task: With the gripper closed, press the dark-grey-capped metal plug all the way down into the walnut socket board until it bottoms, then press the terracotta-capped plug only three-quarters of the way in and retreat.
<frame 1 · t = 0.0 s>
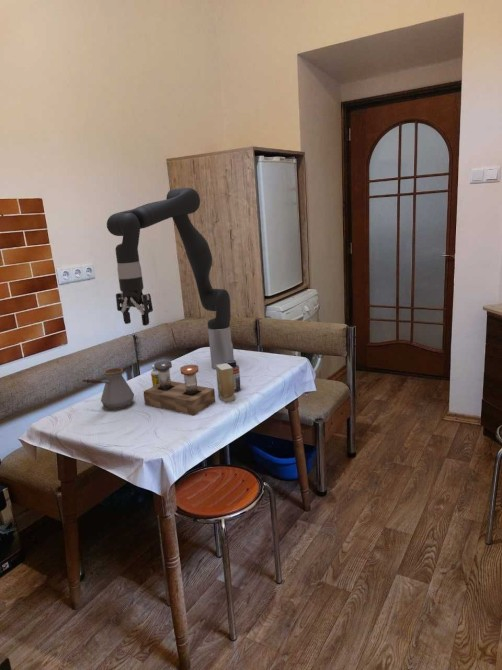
hand: (136, 324, 159), 29 cm above the table, fingers open, 8 cm apart
skincare box: (226, 399, 167), on the table
socket board: (180, 403, 166), on the table
supplement bottle: (160, 389, 182), on the table
coffee pot: (109, 411, 165), on the table
supplement bottle 2: (232, 390, 175), on the table
plug grey: (164, 376, 167), point 9 cm above the table, slide at 0.0 cm
plug rust: (190, 380, 161), point 9 cm above the table, slide at 0.0 cm
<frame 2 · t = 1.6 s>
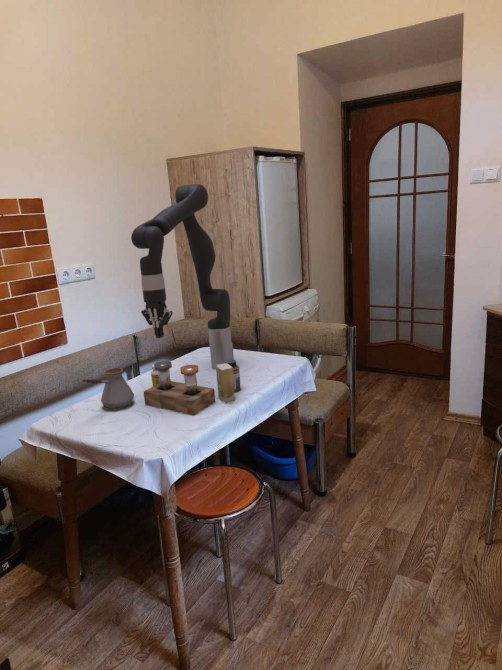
hand: (159, 337, 164), 23 cm above the table, fingers closed
nothing on the table moved.
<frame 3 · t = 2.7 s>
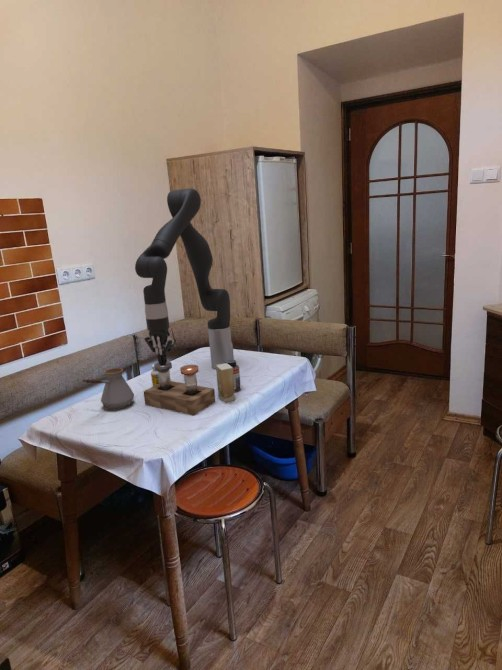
hand: (162, 364, 166), 14 cm above the table, fingers closed
plug grey: (164, 376, 167), point 9 cm above the table, slide at 0.2 cm, touching gripper
everything else where it was.
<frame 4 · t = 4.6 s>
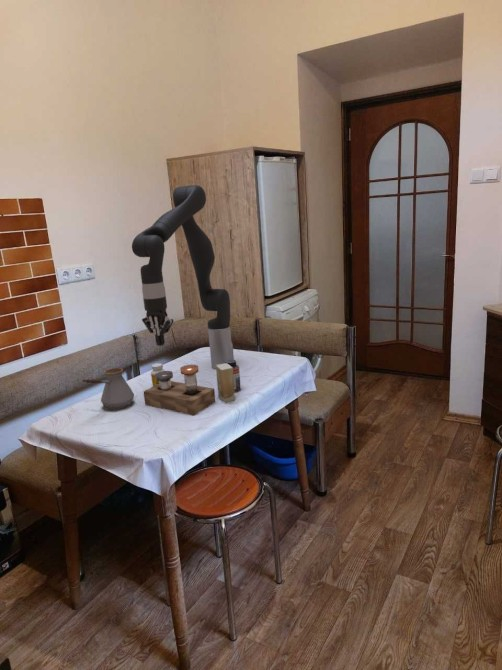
hand: (160, 345, 164), 21 cm above the table, fingers closed
plug grey: (165, 386, 168), point 5 cm above the table, slide at 3.8 cm
everything else where it was.
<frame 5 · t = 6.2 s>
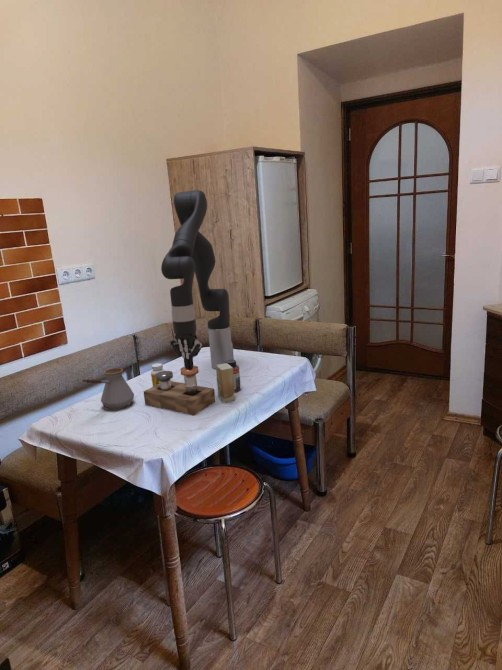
hand: (189, 368, 160), 14 cm above the table, fingers closed
plug rust: (190, 381, 161), point 9 cm above the table, slide at 0.4 cm, touching gripper
everything else where it was.
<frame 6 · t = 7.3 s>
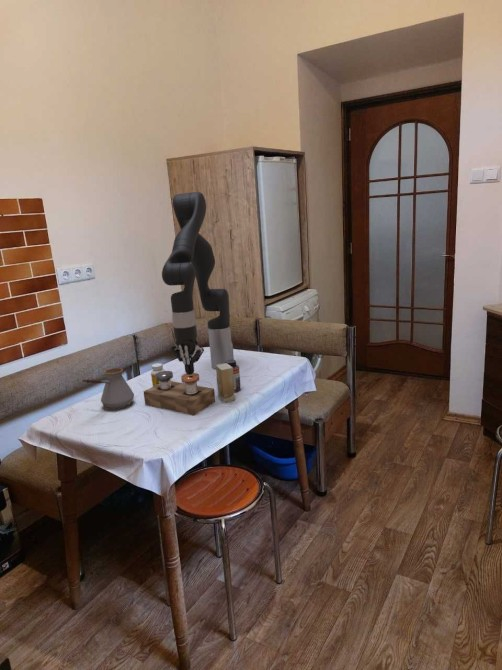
hand: (190, 373, 160), 12 cm above the table, fingers closed
plug rust: (191, 389, 161), point 6 cm above the table, slide at 3.0 cm
everything else where it was.
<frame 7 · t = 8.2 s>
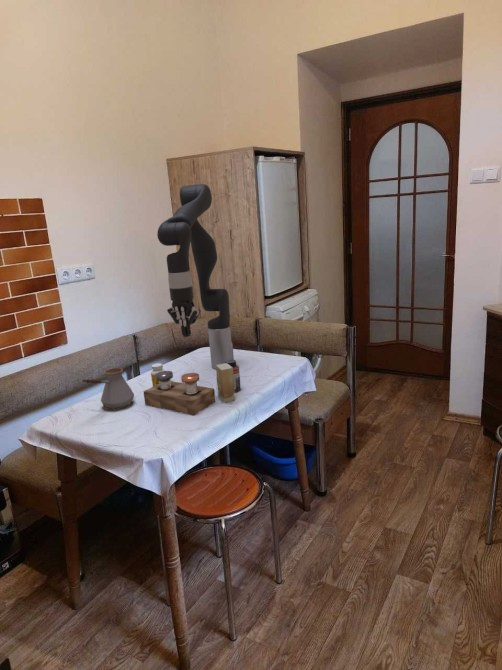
hand: (186, 336, 160), 24 cm above the table, fingers closed
nothing on the table moved.
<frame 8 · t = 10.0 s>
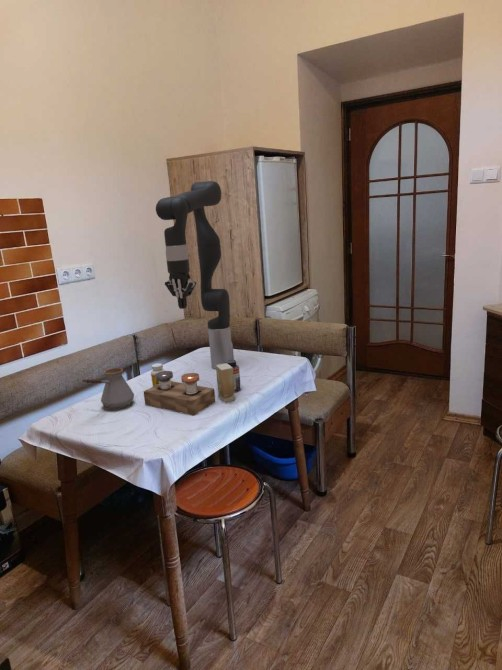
hand: (182, 308, 166), 32 cm above the table, fingers closed
nothing on the table moved.
at the end: plug grey slide at 3.8 cm; plug rust slide at 3.0 cm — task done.
